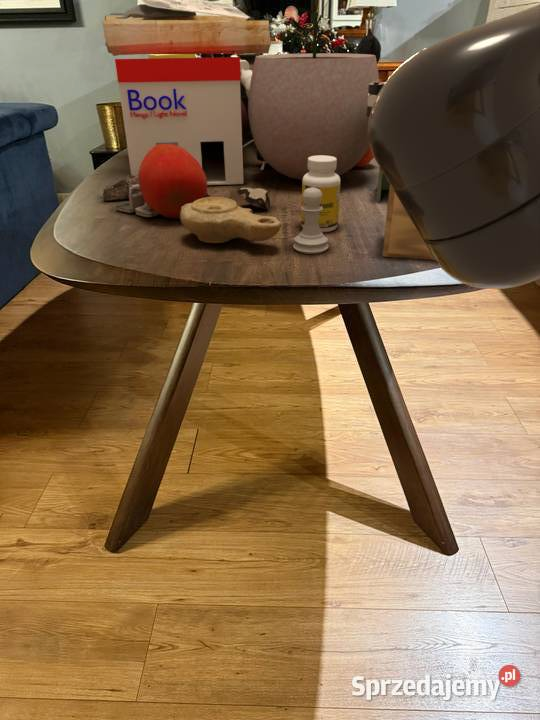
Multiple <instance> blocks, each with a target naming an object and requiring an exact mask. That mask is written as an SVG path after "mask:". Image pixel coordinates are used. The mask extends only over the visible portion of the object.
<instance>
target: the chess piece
mask: <svg viewBox="0 0 540 720" xmlns="http://www.w3.org/2000/svg"><path fill="white" fill-rule="evenodd" d="M321 200H322V193H321V191H320V190H319V189H318V188H314V187H311V188H307V189H306V190H305V191H304V192H303V201H304V203H305V204H306V205H305V206H302V205H301V207H300V210H301V209H302V210H303V211H304V217H305V224H304V227H302V229H301V232H299V234H298V235H296V236H295V237H294V243H293V246H292V247H293V249H294V250H295V251H296V252H298V253H301V254H306V255H316V254H321V253H324V252H326V251H327V250H328V248H329V244H328V240H329V239H328V237H326V236H325V235H324V234H323V233H324V232H321V231H320V228H319V224H318V221H319V212H320V211H321V210H322V209H323V207H321V206H318V204H319V203H320V202H321Z"/></svg>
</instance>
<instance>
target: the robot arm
mask: <svg viewBox="0 0 540 720" xmlns="http://www.w3.org/2000/svg"><path fill="white" fill-rule="evenodd" d="M366 116H368V117H369V120H368V129H367V138H368V143H369V146H370V149H371V151H372V154H373V156H374V158H373V159H374V160H375V162H376V163H377V165H378V168H379V167H380V169H381V170H382V172H383V174H384V175H385V177H386V179H387V180H388V182H389V184H390V185H391V187H392V188H393V190H394V192H395V193H396V195H397V197H398V199H399V200H400V202H401V204H402V205H403V207H404V209H405V210H406V212H407V214H408V215H409V217H410V219H411V220H412V222H413V224H414V225H415V227H416V229H417V230H418V232H419V234H420V236H421V237H422V239H423V241H424V243H425V244H426V246H427V248H428V249H429V251H430V253H431V254H432V256H433V257H434V259H435V260H434V261H435V262H436V263H437V265H438V266H439V267H440V268H441V269H442V270H443V272H445V273H446V274H447V275H448V276H450V278H452V279H454V280H456V281H458V282H459V283H461V284H464V285H467V286H469V287H473V288H478V289H479V288H480V289H487V290H503V289H509V288H510V289H512V288H516V287H520V286H525V285H527V284H530V283H533V282H535V281H537V280H539V279H540V3H539V4H537V5H533V6H531V7H529V8H526V9H524V10H521V11H519V12H516V13H513V14H510V15H507V16H503V17H501V18H498V19H495V20H492V21H490V22H486V23H483V24H480V25H477V26H474V27H472V28H468V29H466V30H463V31H460V32H458V33H456V34H453V35H451V36H448V37H446V38H445V39H442V40H440V41H437V42H435V43H433V44H431V45H429V46H427V47H426V48H423V49H422V50H420V51H418V52H417V53H415V54H414V55H412V56H411V57H409V58H408V59H406V61H404V62H403V63H402V64H400V66H398V68H396V69H395V70H394V71H393V73H392V74H391V75H390V76H389V77H388V78H387V80H386V81H383V82H380V81H379V82H373V83H372V84H369V87H368V97H367V113H366Z"/></svg>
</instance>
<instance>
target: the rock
mask: <svg viewBox="0 0 540 720" xmlns="http://www.w3.org/2000/svg"><path fill="white" fill-rule="evenodd" d="M136 184H139V178H138V175H136V176H133V175H131V174H128V175H127V176H125V177H123V178H122V179H120V180H118V181H117V182H115V183H113V184H110V185H108V186H107V185H106V187H105V188H103V191H102V192H103V193H102V195H103V199H104V201H105V202H110V201H121V200H123V201H124V200H129V188H130V187H131V186H132V185H136ZM138 192H141V189H140V187H139V188H135V189H133V190H132V194H134V193H138Z"/></svg>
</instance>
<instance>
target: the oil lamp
mask: <svg viewBox="0 0 540 720" xmlns="http://www.w3.org/2000/svg"><path fill="white" fill-rule="evenodd" d="M179 219H180V222H181V224H182V225H183V226H184V228H185V229H186V230H188V231H189V232H190V233H192V234H194V235H196V238H197V240H199V241H200V242H203V243H206V244H222V243H226V242H229V241H230V240H233V239H244V240H248V241H250V242H257V241H258V242H259V241H260V242H261V241H262V242H263V241H268V240H271V239H272V238H274V237H275V236H276V235H278V233H279V232H280V230H281V229H282V222H281V221H279V219H278V217H275V216H270V215H269V216H267V215H260V214H254V213H253V210H252V209H251V208H246V207H241V206H240V205H238V203H237V202H236V200H234V199H231V198H228V197H221V196H210V197H206V198H201V199H198V200H196V201H194V202H193V203H190V204H186V205H184V206H182V208H181V212H180V218H179Z"/></svg>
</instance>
